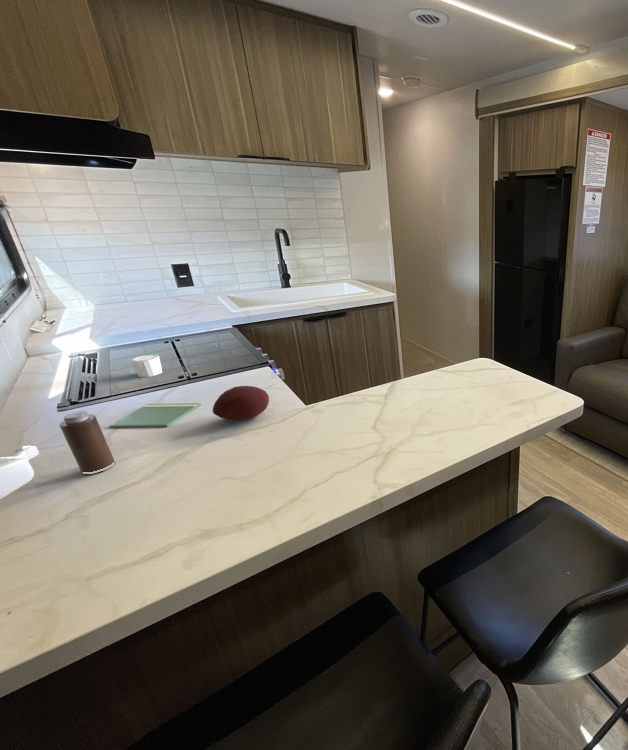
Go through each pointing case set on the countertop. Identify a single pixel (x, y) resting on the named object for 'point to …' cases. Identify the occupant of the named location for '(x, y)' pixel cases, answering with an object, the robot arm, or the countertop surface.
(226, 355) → the countertop surface
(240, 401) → the potato
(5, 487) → the robot arm
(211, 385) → the countertop surface
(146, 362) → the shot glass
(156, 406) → the tea towel
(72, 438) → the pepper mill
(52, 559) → the countertop surface
